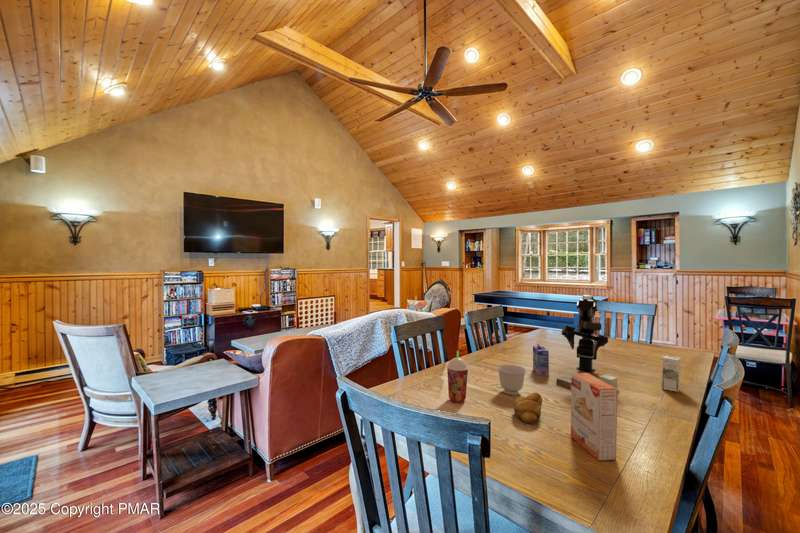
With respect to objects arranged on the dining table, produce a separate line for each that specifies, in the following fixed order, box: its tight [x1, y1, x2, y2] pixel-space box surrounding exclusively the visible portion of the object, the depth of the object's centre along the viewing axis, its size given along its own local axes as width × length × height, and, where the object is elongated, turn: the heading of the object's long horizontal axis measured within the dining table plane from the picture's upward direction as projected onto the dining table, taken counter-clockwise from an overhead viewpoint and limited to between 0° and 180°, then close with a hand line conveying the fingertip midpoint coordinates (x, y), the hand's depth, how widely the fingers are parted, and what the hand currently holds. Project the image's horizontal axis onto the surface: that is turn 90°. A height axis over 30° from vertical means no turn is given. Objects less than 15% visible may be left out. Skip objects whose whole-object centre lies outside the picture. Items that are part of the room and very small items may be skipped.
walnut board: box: [556, 374, 572, 390], centre depth 161 cm, size 10×10×3 cm
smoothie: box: [446, 350, 469, 404], centre depth 142 cm, size 8×8×20 cm
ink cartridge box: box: [532, 343, 550, 377], centre depth 178 cm, size 10×6×14 cm, turn 174°
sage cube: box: [598, 374, 618, 390], centre depth 157 cm, size 5×5×5 cm
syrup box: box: [661, 354, 681, 393], centre depth 156 cm, size 6×6×14 cm
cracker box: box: [570, 372, 618, 462], centre depth 107 cm, size 14×6×21 cm, turn 5°
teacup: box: [496, 364, 527, 396], centre depth 153 cm, size 12×15×10 cm
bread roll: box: [513, 392, 543, 424], centre depth 128 cm, size 13×10×8 cm
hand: (583, 352), depth 160 cm, fingers open, 9 cm apart
